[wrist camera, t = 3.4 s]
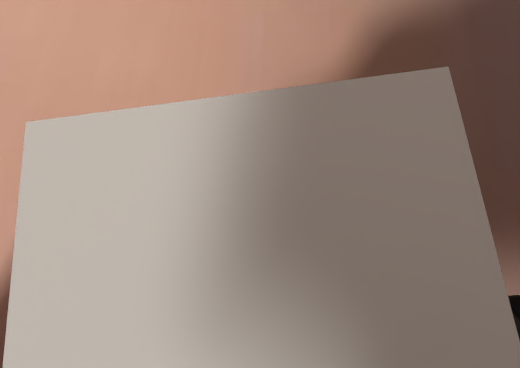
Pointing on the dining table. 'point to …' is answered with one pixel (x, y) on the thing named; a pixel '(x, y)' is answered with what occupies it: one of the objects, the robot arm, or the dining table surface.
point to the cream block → (260, 235)
